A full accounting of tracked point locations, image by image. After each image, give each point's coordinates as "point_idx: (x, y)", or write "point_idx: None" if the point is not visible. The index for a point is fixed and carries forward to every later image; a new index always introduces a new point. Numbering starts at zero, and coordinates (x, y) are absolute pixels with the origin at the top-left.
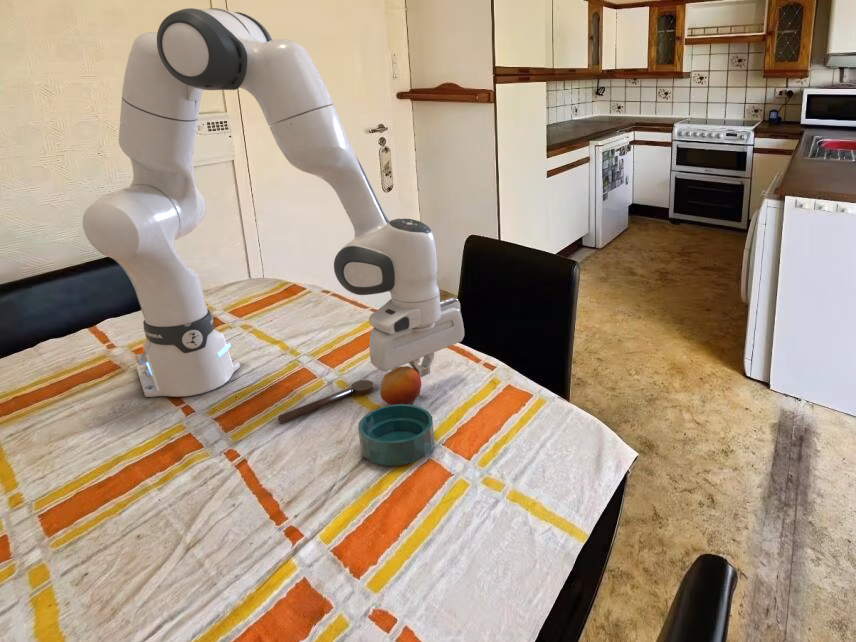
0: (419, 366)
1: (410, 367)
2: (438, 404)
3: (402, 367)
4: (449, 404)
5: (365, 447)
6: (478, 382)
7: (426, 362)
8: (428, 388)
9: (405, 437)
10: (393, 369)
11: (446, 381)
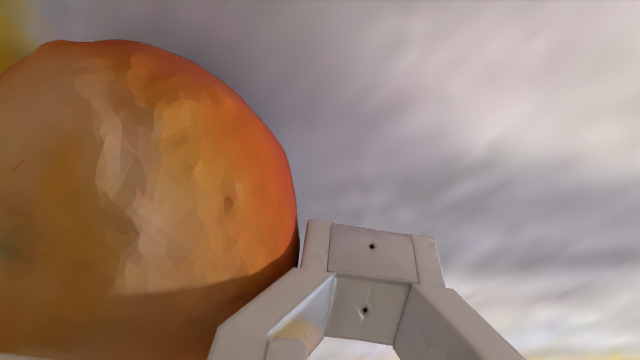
0: (361, 292)
1: (204, 348)
2: None
3: (109, 335)
4: (338, 338)
5: None
6: (628, 328)
7: (420, 356)
8: (415, 166)
9: None
10: (77, 197)
11: (563, 195)
